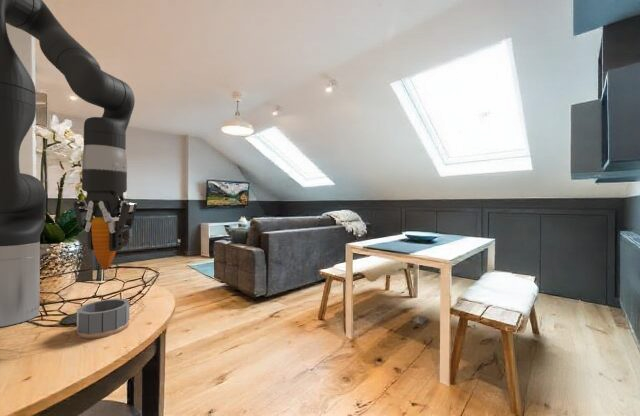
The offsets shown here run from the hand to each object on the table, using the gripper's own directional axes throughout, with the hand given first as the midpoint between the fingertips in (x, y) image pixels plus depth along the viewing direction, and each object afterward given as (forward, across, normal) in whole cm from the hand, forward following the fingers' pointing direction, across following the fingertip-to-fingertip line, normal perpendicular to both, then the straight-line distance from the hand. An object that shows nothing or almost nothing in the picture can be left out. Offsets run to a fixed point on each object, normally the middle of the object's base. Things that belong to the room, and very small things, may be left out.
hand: (104, 249), depth 59 cm
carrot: (+5, 0, 0) cm, 5 cm away
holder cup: (+17, 0, 0) cm, 17 cm away
